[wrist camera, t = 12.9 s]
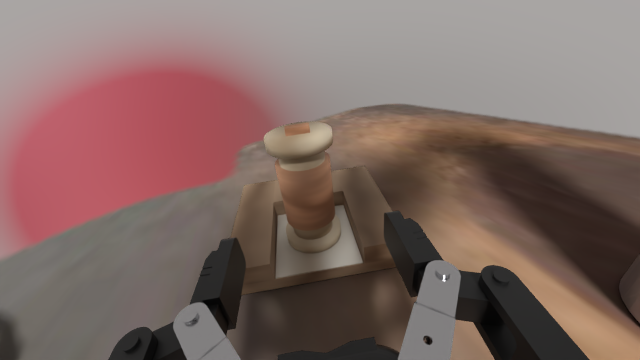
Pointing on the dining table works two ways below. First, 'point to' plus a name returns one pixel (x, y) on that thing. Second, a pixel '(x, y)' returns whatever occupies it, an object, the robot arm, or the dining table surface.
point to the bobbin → (306, 184)
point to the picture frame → (299, 268)
